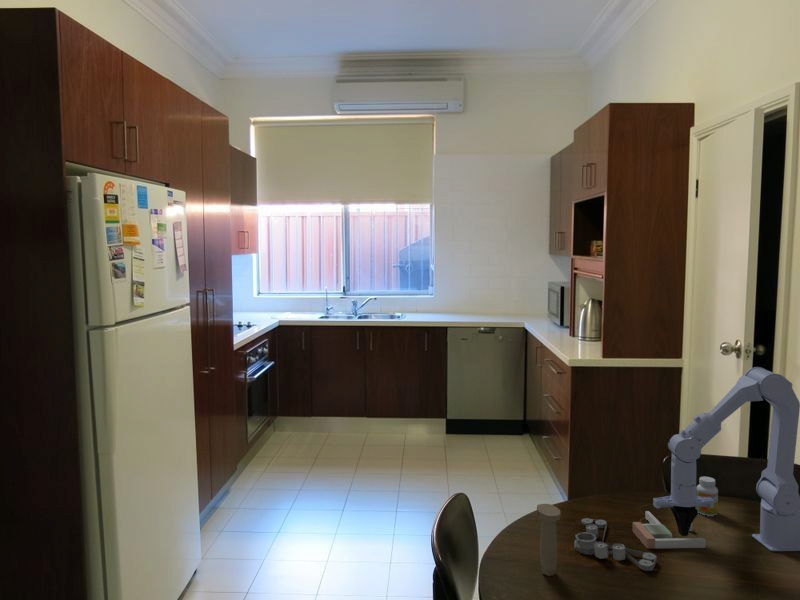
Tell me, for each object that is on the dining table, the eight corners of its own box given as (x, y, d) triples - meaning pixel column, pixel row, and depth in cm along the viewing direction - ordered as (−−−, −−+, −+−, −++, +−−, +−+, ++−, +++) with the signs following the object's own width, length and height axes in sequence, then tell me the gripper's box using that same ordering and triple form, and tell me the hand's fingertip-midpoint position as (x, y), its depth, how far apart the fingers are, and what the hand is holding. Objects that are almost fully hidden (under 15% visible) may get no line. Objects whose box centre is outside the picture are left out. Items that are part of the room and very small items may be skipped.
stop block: (640, 531, 150) (640, 522, 149) (655, 548, 141) (655, 538, 140) (632, 531, 150) (632, 522, 149) (646, 548, 141) (647, 538, 140)
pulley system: (609, 584, 127) (667, 571, 130) (608, 564, 127) (665, 551, 130) (549, 533, 154) (598, 523, 157) (548, 516, 153) (597, 506, 157)
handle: (544, 581, 127) (544, 516, 126) (533, 566, 133) (532, 504, 132) (564, 579, 128) (564, 514, 127) (552, 564, 134) (552, 502, 133)
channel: (677, 517, 157) (678, 510, 157) (709, 547, 140) (709, 539, 140) (629, 518, 157) (629, 511, 157) (655, 548, 141) (655, 540, 140)
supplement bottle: (691, 510, 161) (692, 476, 161) (706, 507, 163) (707, 474, 162) (706, 518, 156) (707, 483, 156) (722, 515, 158) (722, 481, 157)
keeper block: (663, 535, 147) (663, 524, 147) (671, 545, 142) (672, 533, 142) (643, 536, 147) (643, 524, 147) (651, 545, 142) (652, 534, 142)
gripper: (703, 475, 148) (703, 526, 149) (648, 476, 148) (647, 527, 149) (718, 486, 141) (718, 539, 142) (660, 487, 141) (659, 540, 142)
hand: (683, 534), depth 145 cm, fingers closed
